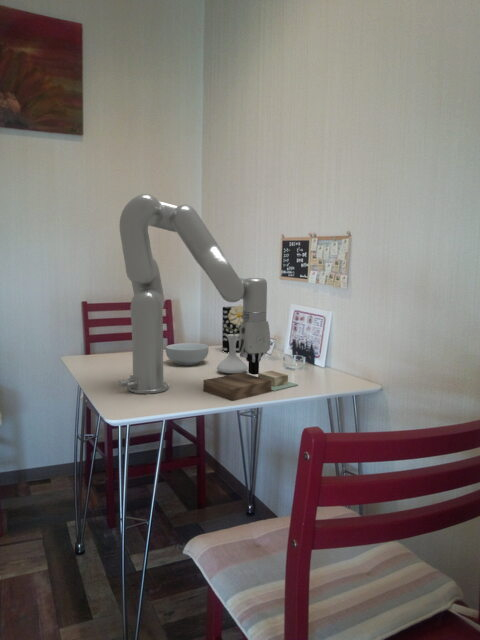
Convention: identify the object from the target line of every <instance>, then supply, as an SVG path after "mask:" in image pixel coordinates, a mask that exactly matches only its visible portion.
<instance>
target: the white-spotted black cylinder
mask: <svg viewBox="0 0 480 640" xmlns="http://www.w3.org/2000/svg"><path fill="white" fill-rule="evenodd" d="M234 307H235V306H222V327H221V328H222V329H221V330H222V331H221V332H222V344H221V345H222V350H221V352H222V351H224V352H229V350H230V348H229V341H228V338H227V337H226V335H228V334H234V333H235V332H236V331H237V329H238V327H239V326H238V325H236V324H235V325H234V324H233V323H230V320H229V317H228V314H229V312H230V310H231V308H234ZM227 327H229V328H231V329H233V330H234V331H233V330H231V329H229V328H227ZM240 327H241V325H240ZM236 334H237V335H240V330H239V329H238V331H237V332H236ZM239 351H240V350H239V337H238V339H237V342H236V352H239ZM224 352H223V353H224ZM239 353H240V352H239Z"/></svg>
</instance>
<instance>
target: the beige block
mask: <svg viewBox="0 0 480 640" xmlns="http://www.w3.org/2000/svg"><path fill="white" fill-rule="evenodd" d="M257 375H258V376H257V377H260V378H264V379H267V380H271V381H272V383H271V386H274V387H276V386H281V385H285V384H288V382H289V374H286V373H282V372H278V371H274V370H269V371H268V370H267V371H262V372H259V374H257Z"/></svg>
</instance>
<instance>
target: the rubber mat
mask: <svg viewBox="0 0 480 640" xmlns="http://www.w3.org/2000/svg"><path fill="white" fill-rule="evenodd" d="M297 386H299V384H297V383H293V382H290V381H288V384H285V385H281V386H276V387H274V386H271V392H274V393H275V392H278V391H282V390H287V389H290V388H294V387H297Z"/></svg>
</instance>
